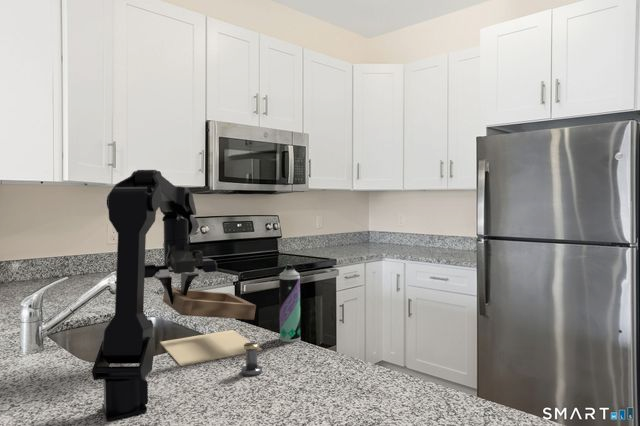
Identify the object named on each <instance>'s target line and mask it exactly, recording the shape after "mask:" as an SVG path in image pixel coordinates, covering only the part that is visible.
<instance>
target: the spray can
mask: <svg viewBox="0 0 640 426" xmlns="http://www.w3.org/2000/svg"><path fill="white" fill-rule="evenodd" d="M295 269H296V268H295V267H294V266H293V265H292V264H286V265H285V269H284V270H283V271H282V272H281V273H280V272H279V276H278V281H279V282H278V283H279V284H278V285H279V297H278V298H279V340H280V342H284V343H296V342H299V341H301V281H300V280H301V276H300V272H298V271H296V270H295ZM297 340H298V341H297Z"/></svg>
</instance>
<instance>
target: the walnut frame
mask: <svg viewBox="0 0 640 426" xmlns="http://www.w3.org/2000/svg"><path fill="white" fill-rule="evenodd" d="M172 293H173V304H170V302H169V299H168V297H167V294H166V292H165V291H164V292H163V297H162V302H163V303H165V304H166V305H167V306H168V307H170V308H171V309H173V310H174V311H175V312H176V313H177V314H179V315H180V316H183V317H184V316H186V317H188V316H189V317H200V318H201V317H203V318H205V317H206V318H218V319H222V318H223V319H237V320H238V319H239V320H255V317H256V316H255V314H256V309H257V305H256V304H254V303H252V302H249V301H247V300H245V299H243V298H241V297H238V296H237V295H234V294H232V293H231V292H230V293H229V292H218V291H217V292H216V291H208V290H195V289H188V292H187V295H186V296H185V295H183V294H181V288H174V287H172Z"/></svg>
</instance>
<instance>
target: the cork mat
mask: <svg viewBox="0 0 640 426" xmlns="http://www.w3.org/2000/svg"><path fill="white" fill-rule="evenodd" d="M249 342H252V341H251V340H250V339H248V338H246V337H244V335H242V334H240V333H239V332H237V331H235V330H233V329H230V330H223V331H217V332H211V333H206V334H200V335H192V336H187V337H182V338H177V339H176V338H175V339H169V340H164V341H159V343H160V345H161V346H162V347H163V348H164V349H165V350H166V352H167V353H168V354H169V355H170V356H171V357H172V359H174V361H175V362H176V363H177V364H178V365H179V366H180V367H185V366H189V365H193V364H199V363H203V362H209V361H215V360H219V359H224V358H229V357H234V356H240V355H246V349H244V344H245V343H249ZM260 351H263V348H261V347H260V346H259V348H257V352H260Z"/></svg>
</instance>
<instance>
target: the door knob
mask: <svg viewBox="0 0 640 426" xmlns="http://www.w3.org/2000/svg"><path fill="white" fill-rule="evenodd" d="M259 347H260V343H259V342H255V341H251V342H249V343H245V344H244V349H246V353H245V366H243V367H242V368H241V369H240V370H241V375H243V376H245V377H255V376H259V375H261V374H262V373H263V366H261V365H259V364H258V351H257V348H259Z"/></svg>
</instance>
